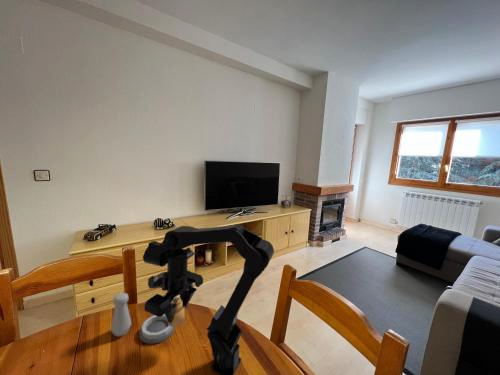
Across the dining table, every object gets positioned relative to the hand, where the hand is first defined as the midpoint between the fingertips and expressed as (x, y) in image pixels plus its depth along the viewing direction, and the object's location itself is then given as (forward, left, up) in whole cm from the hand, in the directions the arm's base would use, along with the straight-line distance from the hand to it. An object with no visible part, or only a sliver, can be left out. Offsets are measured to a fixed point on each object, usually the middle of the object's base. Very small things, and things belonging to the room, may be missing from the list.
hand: (176, 317), depth 65 cm
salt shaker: (+20, +4, -10) cm, 23 cm away
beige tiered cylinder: (0, 0, -1) cm, 1 cm away
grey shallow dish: (+10, -2, -10) cm, 14 cm away
